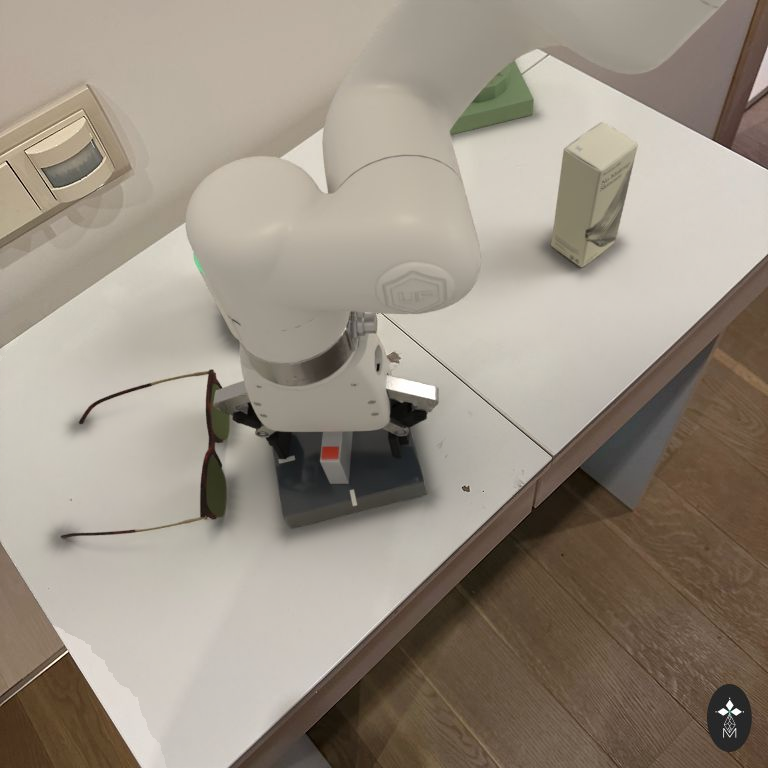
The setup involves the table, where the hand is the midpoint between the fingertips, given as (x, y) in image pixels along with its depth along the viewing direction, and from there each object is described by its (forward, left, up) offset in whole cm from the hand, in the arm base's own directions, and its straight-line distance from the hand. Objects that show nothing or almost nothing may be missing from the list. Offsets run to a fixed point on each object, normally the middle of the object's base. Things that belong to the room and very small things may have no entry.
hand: (341, 443), depth 63 cm
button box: (-24, -42, -4) cm, 49 cm away
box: (-28, -17, -4) cm, 33 cm away
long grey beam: (0, 0, -1) cm, 1 cm away
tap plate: (0, 0, -4) cm, 4 cm away
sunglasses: (+18, -4, -4) cm, 19 cm away
